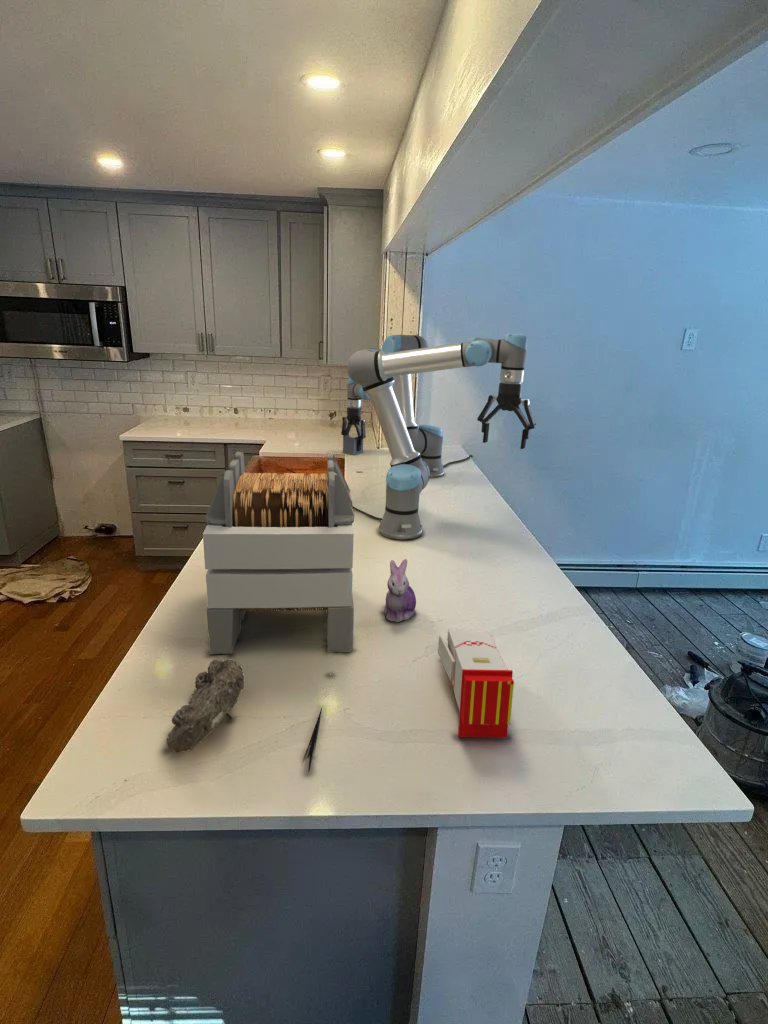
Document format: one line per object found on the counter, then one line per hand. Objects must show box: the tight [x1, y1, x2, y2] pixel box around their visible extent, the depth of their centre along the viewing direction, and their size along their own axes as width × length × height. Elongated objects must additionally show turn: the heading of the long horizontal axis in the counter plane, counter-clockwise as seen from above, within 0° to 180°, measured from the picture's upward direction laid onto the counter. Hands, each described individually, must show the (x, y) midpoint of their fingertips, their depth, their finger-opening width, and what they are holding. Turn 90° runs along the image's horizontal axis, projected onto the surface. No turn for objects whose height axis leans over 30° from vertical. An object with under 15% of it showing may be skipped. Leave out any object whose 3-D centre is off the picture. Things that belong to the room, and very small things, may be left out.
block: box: [342, 432, 364, 456], centre depth 307 cm, size 7×9×9 cm
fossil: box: [166, 658, 245, 754], centre depth 106 cm, size 22×10×15 cm
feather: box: [301, 673, 332, 771], centre depth 108 cm, size 2×28×2 cm
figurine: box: [384, 558, 417, 623], centre depth 145 cm, size 9×10×15 cm
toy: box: [437, 628, 515, 738], centre depth 117 cm, size 12×13×30 cm
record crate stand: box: [202, 451, 355, 655], centre depth 137 cm, size 34×33×41 cm
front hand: (503, 445), depth 195 cm, fingers open, 13 cm apart
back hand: (353, 449), depth 308 cm, fingers closed on block, 7 cm apart
